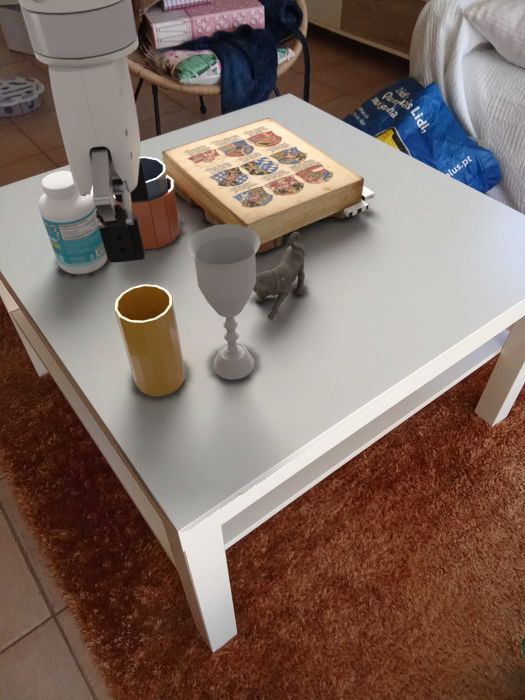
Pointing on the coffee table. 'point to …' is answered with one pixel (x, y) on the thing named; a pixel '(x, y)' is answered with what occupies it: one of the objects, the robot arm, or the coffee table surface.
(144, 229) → the cup stack
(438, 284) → the coffee table surface
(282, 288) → the dog figurine
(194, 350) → the coffee table surface
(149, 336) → the ochre cup
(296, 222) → the book
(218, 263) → the chalice
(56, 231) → the pill bottle
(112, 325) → the coffee table surface
